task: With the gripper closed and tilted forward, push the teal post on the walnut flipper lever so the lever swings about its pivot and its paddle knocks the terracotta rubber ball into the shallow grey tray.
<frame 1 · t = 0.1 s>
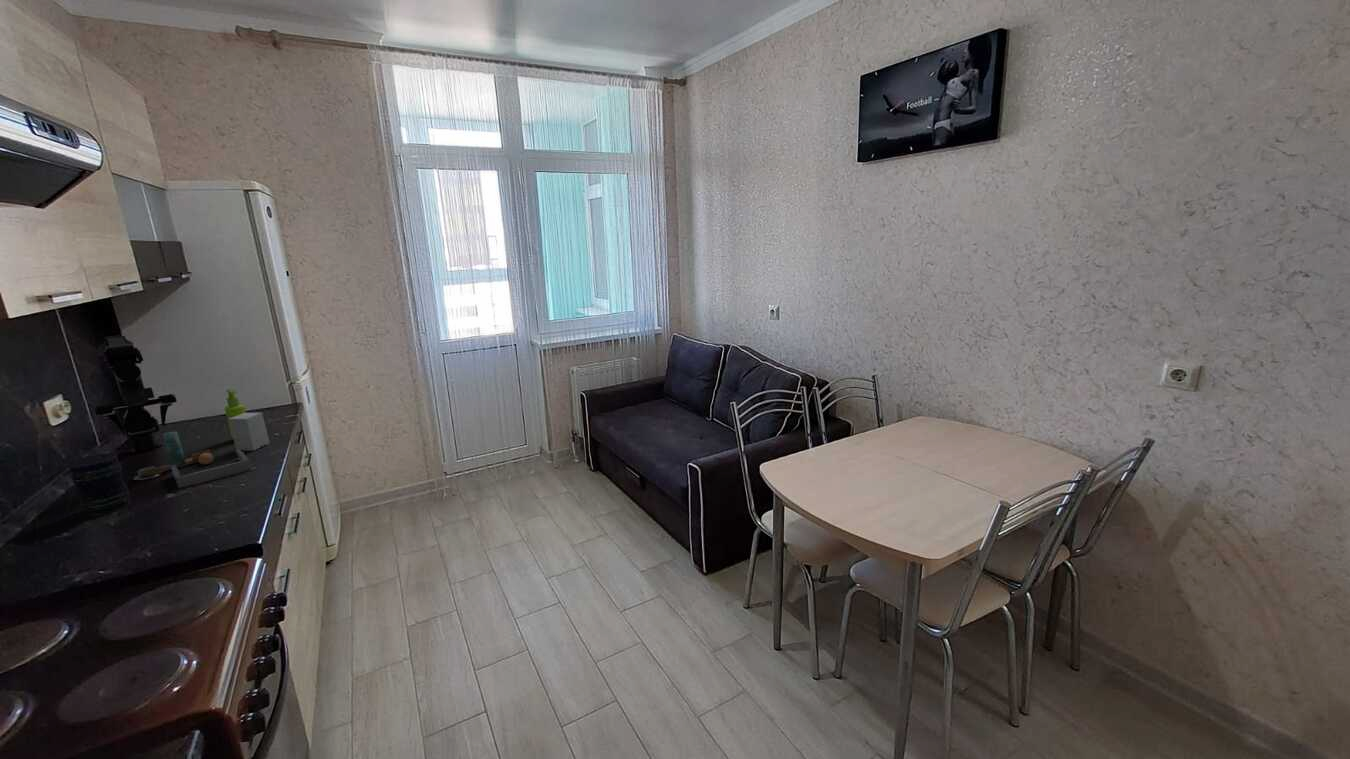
hand: (144, 430, 175), 15 cm above the worktop, tool pointing down, fingers open, 9 cm apart
supplement box: (253, 447, 200), on the worktop
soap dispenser: (242, 439, 210), on the worktop
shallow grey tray: (212, 472, 179), on the worktop
lever: (172, 450, 182), point 6 cm above the worktop, hinge at 0.0°
ball: (205, 458, 186), point 2 cm above the worktop
storage jar: (108, 507, 157), on the worktop
pivot base: (148, 476, 177), on the worktop
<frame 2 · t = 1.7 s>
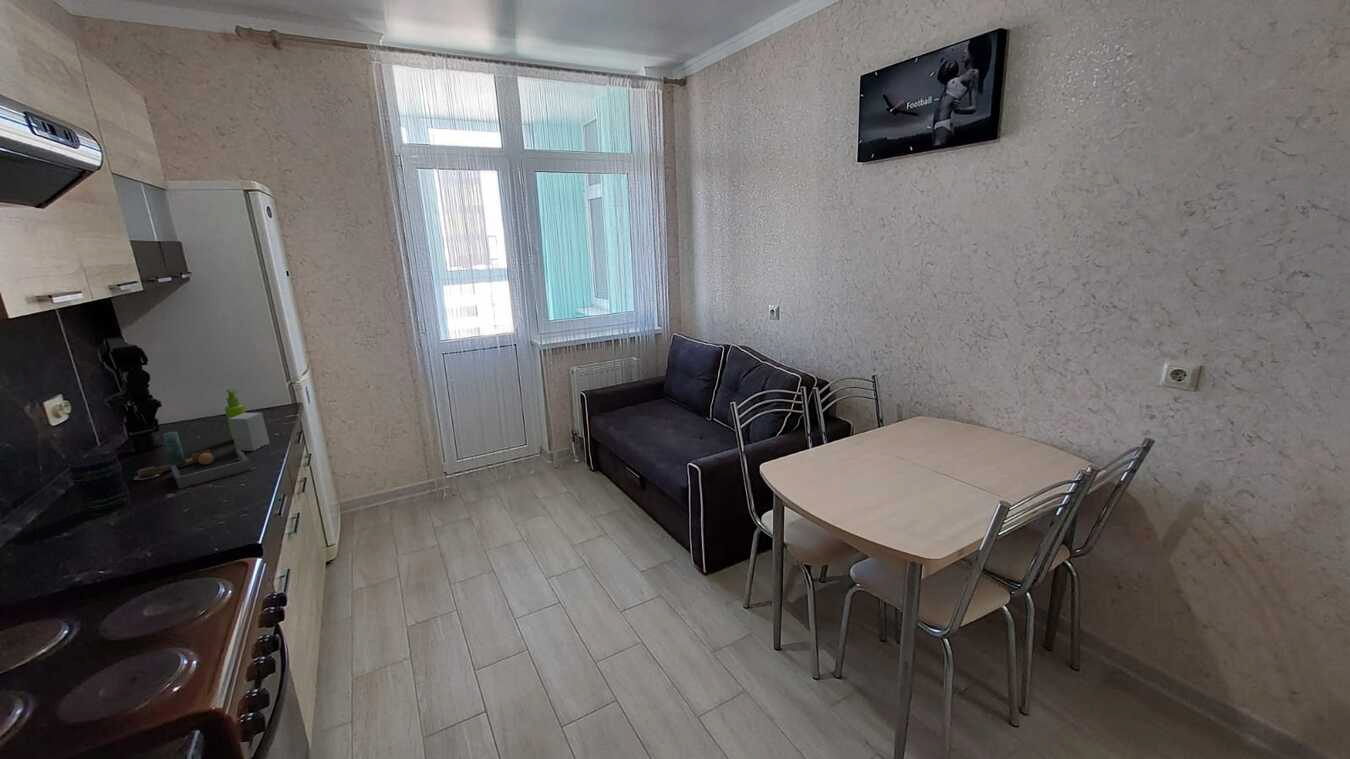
hand: (147, 425, 188), 13 cm above the worktop, tool pointing down, fingers open, 5 cm apart
nothing on the worktop moved.
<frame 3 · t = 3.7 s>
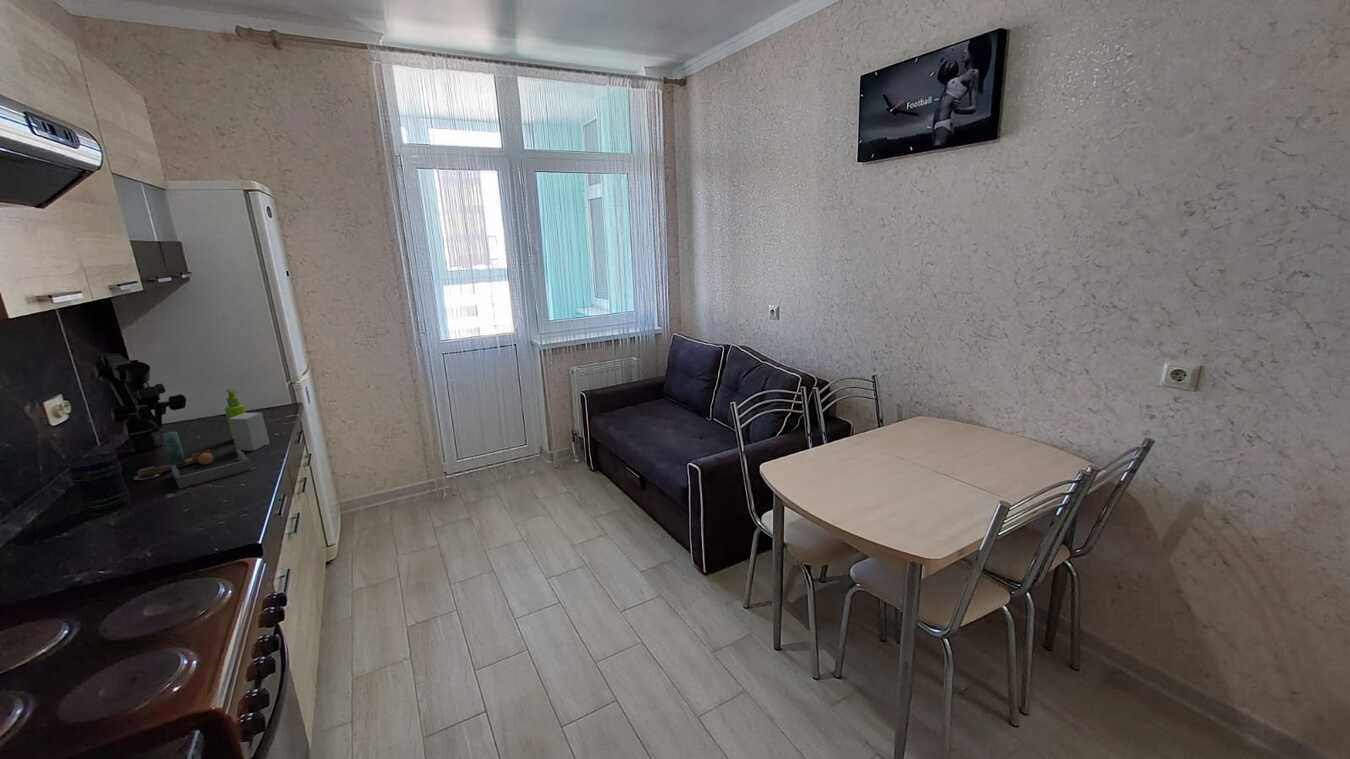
hand: (160, 427, 184), 13 cm above the worktop, tool tilted 45°, fingers closed
nothing on the worktop moved.
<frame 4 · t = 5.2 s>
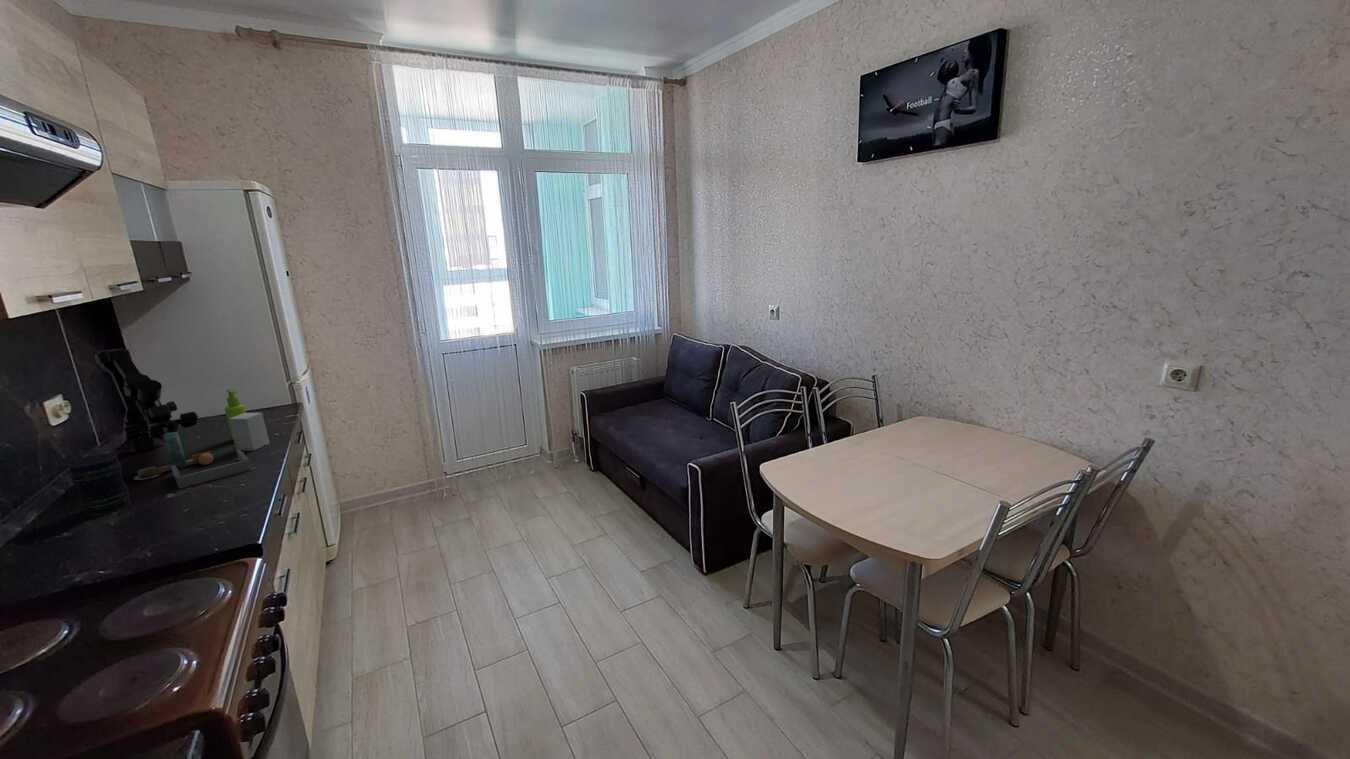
hand: (172, 445, 182), 8 cm above the worktop, tool tilted 45°, fingers closed, pressing on lever
lever: (173, 451, 181), point 6 cm above the worktop, hinge at -5.6°, touching gripper
everything else where it was.
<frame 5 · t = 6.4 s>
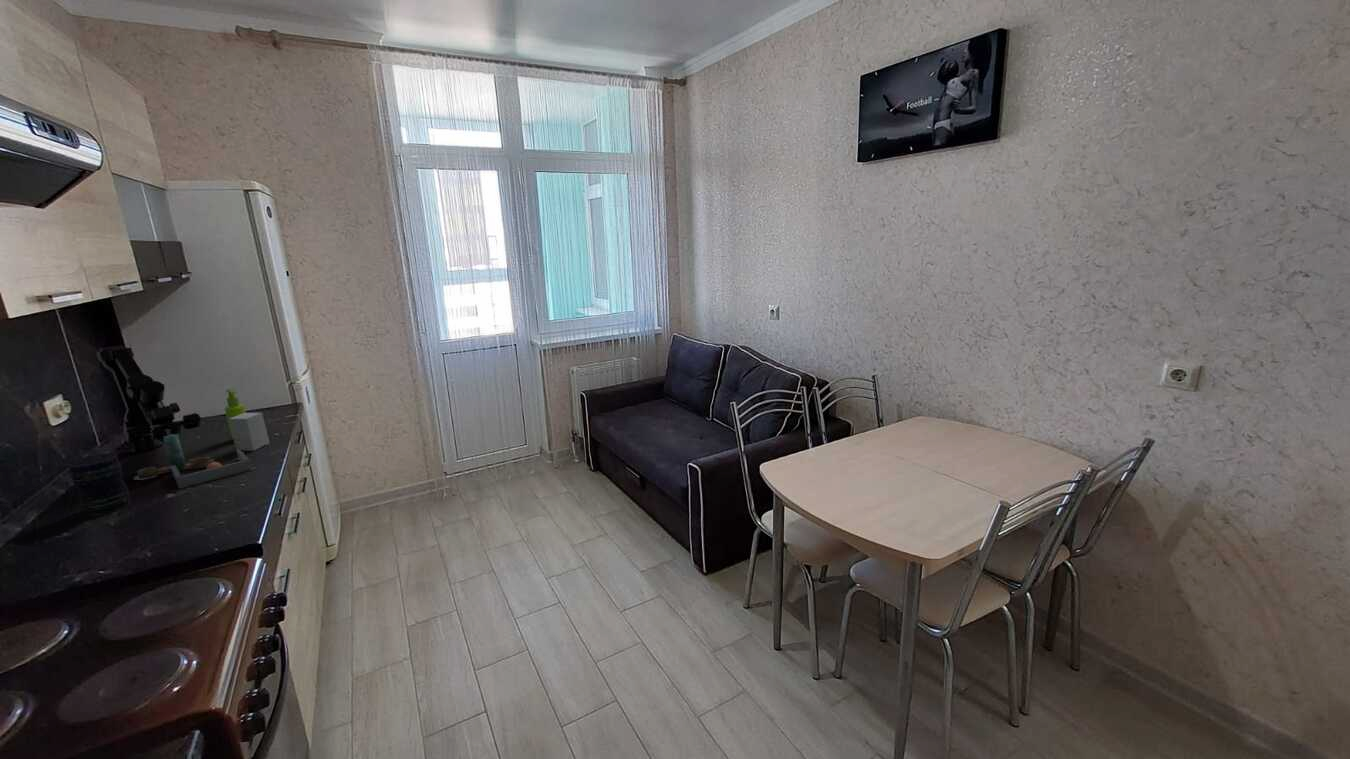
hand: (175, 447, 181), 8 cm above the worktop, tool tilted 45°, fingers closed
lever: (172, 453, 179), point 6 cm above the worktop, hinge at -28.1°, touching gripper
ball: (214, 468, 177), point 2 cm above the worktop, tilted 15°
everything else where it was.
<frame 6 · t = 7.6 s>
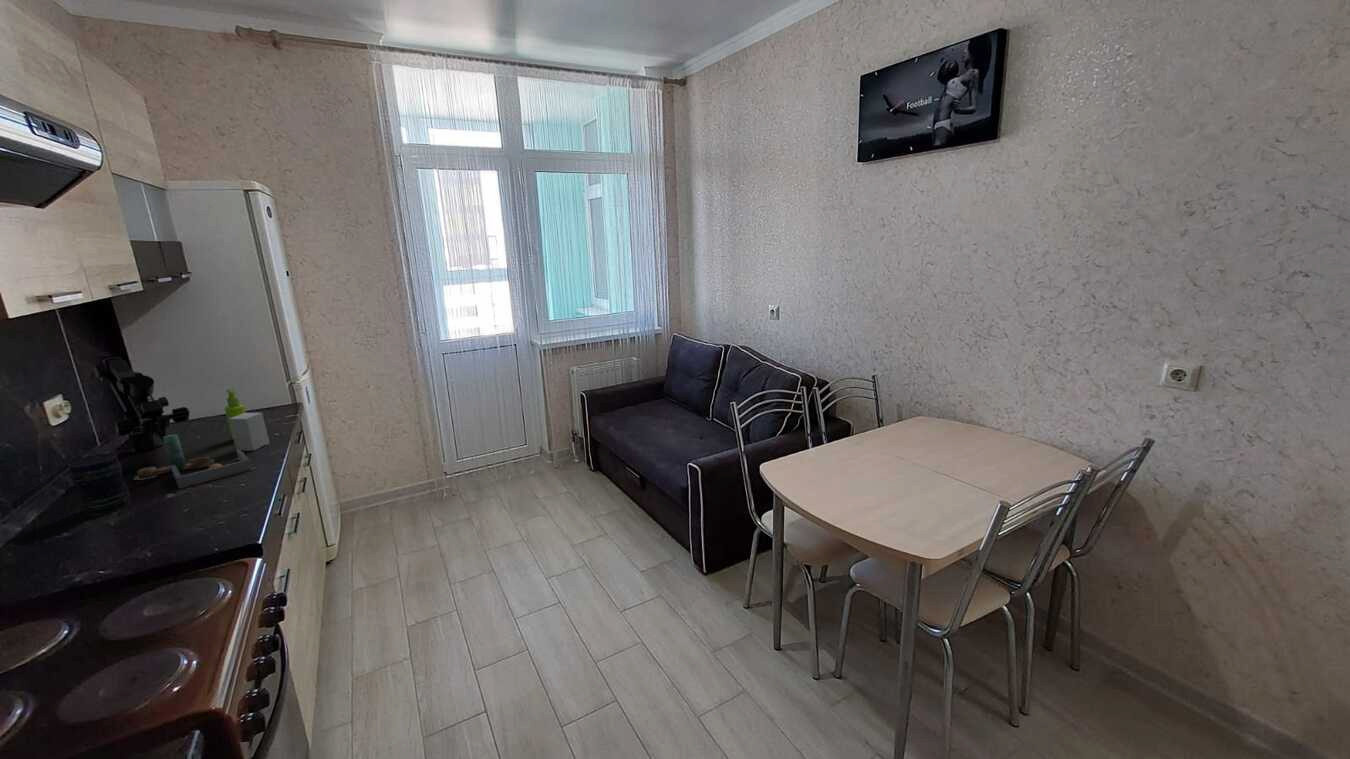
hand: (164, 440, 186), 8 cm above the worktop, tool tilted 45°, fingers closed
lever: (172, 453, 179), point 6 cm above the worktop, hinge at -28.2°
ball: (216, 469, 176), point 2 cm above the worktop, tilted 72°
everything else where it was.
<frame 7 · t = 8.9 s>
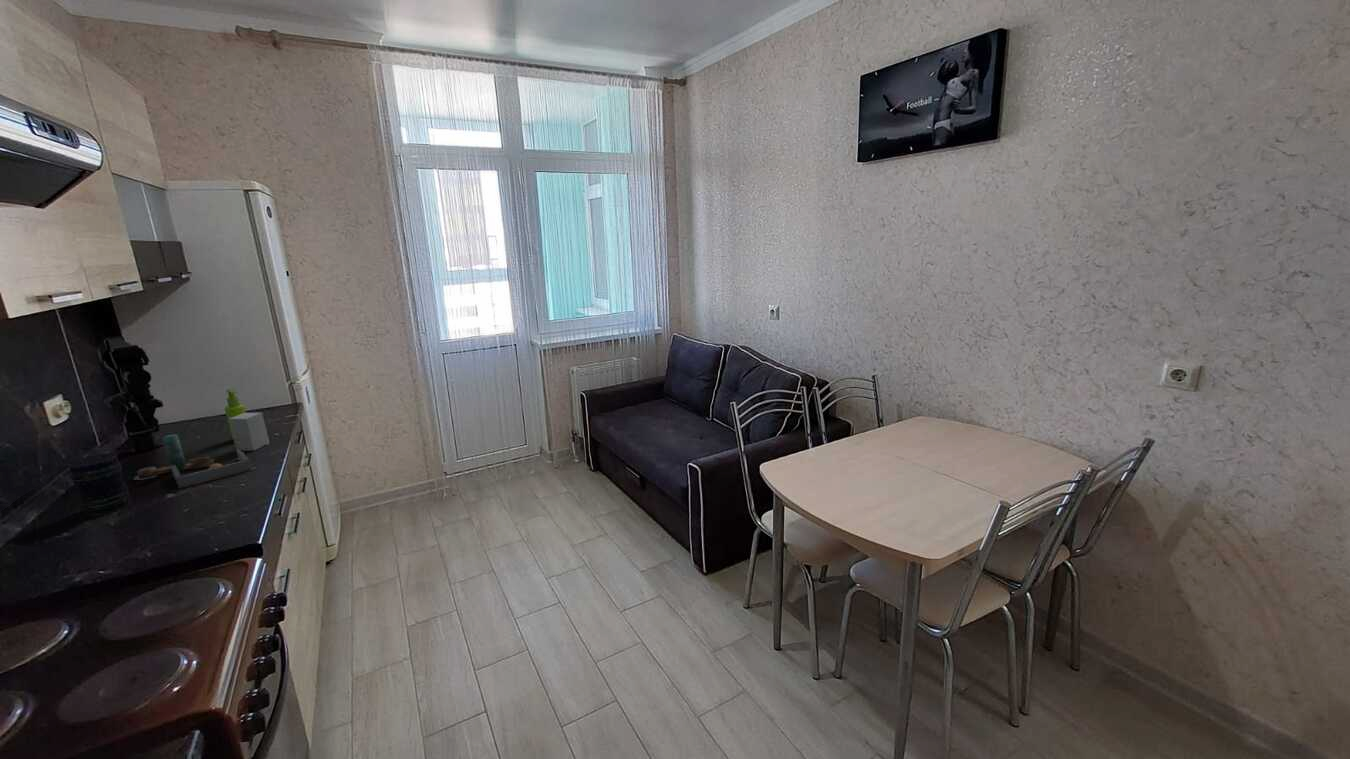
hand: (148, 425, 187), 13 cm above the worktop, tool pointing down, fingers closed
ball: (216, 469, 176), point 2 cm above the worktop, tilted 67°
everything else where it was.
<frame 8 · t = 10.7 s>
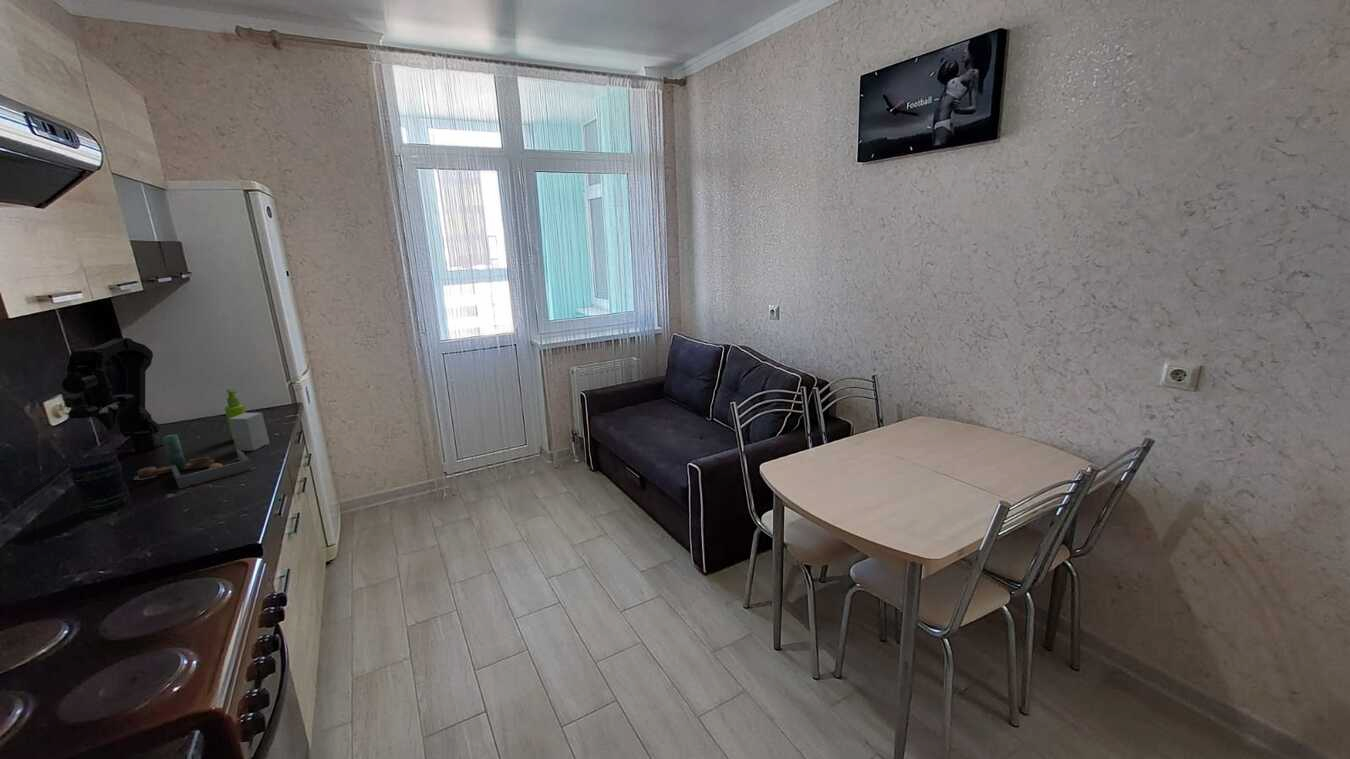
hand: (110, 429, 184), 13 cm above the worktop, tool pointing down, fingers closed
ball: (216, 469, 176), point 2 cm above the worktop, tilted 60°
everything else where it was.
at the end: ball 3.9 cm from the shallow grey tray (horizontally); ball moved 14.8 cm from its start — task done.
